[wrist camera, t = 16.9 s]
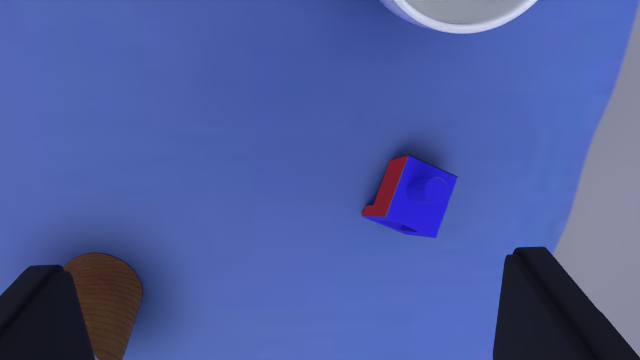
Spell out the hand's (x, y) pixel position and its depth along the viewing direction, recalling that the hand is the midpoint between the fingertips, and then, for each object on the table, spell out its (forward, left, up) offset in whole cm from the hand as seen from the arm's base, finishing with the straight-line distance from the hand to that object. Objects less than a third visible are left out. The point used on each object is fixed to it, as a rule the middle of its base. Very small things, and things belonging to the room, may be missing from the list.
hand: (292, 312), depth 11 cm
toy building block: (+7, +7, -24) cm, 26 cm away
